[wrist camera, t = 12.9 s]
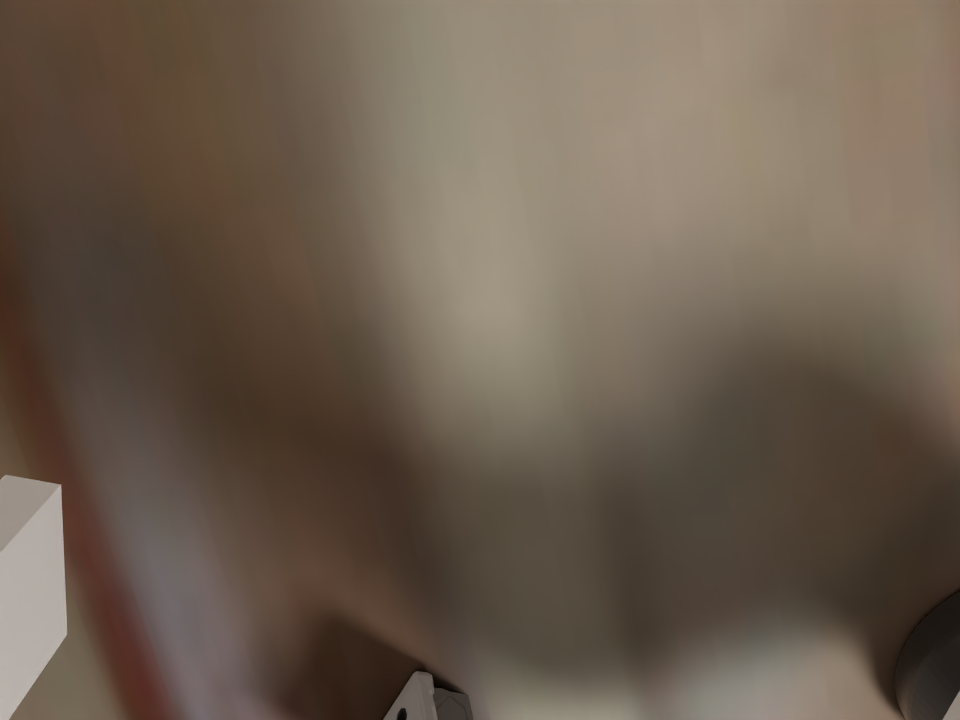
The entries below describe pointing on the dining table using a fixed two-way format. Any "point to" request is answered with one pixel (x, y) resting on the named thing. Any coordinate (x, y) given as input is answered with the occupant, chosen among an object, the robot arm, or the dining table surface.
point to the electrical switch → (428, 702)
